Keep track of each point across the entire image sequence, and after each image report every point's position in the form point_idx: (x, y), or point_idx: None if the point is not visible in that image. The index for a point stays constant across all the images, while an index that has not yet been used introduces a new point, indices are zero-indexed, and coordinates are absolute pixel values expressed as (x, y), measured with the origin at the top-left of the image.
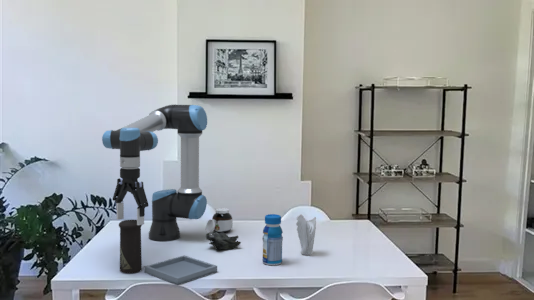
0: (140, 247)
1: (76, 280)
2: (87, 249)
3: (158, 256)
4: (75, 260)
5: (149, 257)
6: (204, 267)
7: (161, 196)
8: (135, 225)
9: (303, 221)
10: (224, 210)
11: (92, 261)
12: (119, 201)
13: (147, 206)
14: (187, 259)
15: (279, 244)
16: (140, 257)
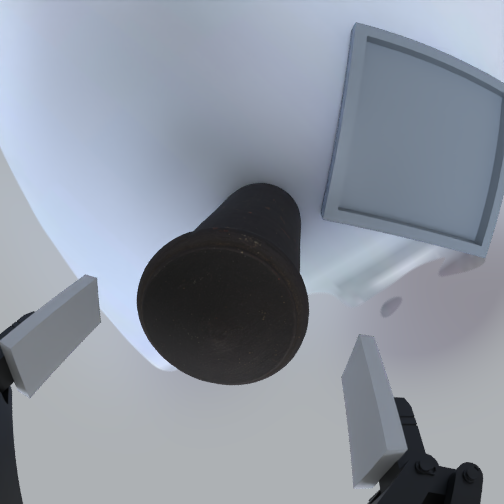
0: (296, 233)
1: None
2: (10, 161)
3: (220, 38)
4: (57, 247)
5: (200, 67)
6: (471, 82)
7: None
8: (299, 345)
9: None
10: None
11: (89, 226)
12: (1, 376)
13: (468, 467)
14: (388, 44)
15: None
16: (298, 223)
